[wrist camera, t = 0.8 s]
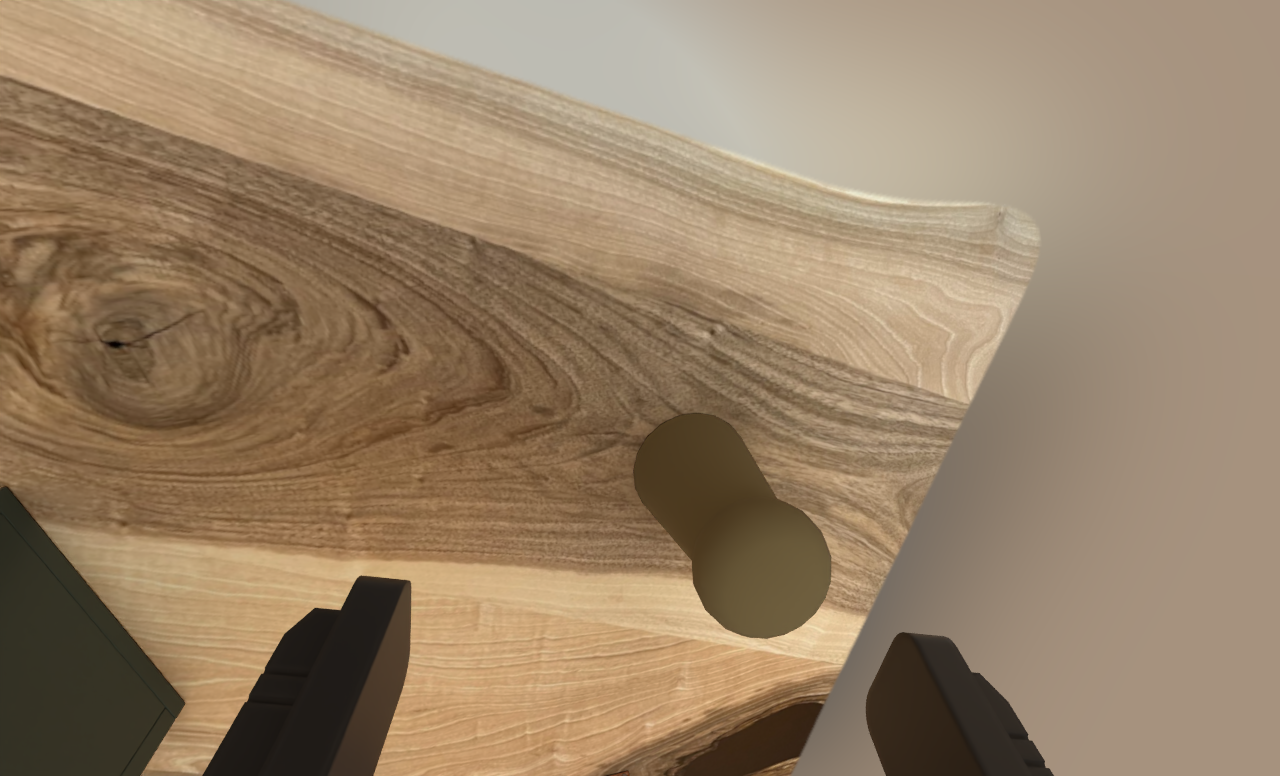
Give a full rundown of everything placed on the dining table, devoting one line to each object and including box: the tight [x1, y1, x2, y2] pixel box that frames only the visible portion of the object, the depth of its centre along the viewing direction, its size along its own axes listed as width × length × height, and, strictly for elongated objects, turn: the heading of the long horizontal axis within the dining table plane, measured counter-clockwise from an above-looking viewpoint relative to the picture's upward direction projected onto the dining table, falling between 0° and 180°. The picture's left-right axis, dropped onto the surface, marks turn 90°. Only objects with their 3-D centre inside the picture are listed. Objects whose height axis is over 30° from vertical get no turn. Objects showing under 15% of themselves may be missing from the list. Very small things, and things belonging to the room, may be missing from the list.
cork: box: [634, 413, 831, 639], centre depth 28 cm, size 6×6×11 cm
